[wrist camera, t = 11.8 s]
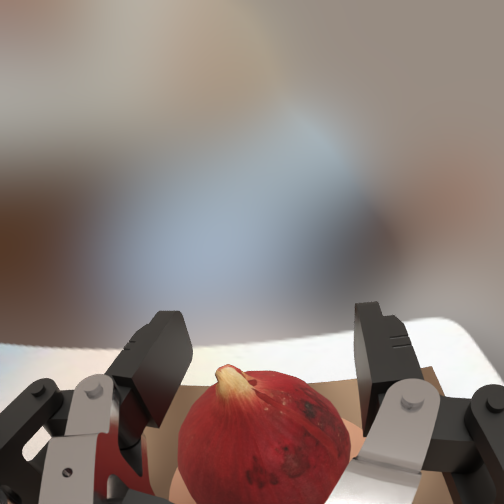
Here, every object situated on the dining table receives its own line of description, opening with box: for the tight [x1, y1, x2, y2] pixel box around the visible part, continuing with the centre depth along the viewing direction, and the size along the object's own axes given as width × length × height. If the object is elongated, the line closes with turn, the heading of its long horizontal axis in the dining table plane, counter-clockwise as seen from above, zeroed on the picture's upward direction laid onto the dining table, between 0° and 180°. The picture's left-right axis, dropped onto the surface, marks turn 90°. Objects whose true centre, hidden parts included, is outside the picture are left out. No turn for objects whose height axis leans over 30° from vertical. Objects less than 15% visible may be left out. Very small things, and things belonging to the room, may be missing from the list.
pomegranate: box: [177, 364, 351, 504], centre depth 9 cm, size 6×6×8 cm
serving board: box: [143, 366, 453, 504], centre depth 11 cm, size 18×14×1 cm
